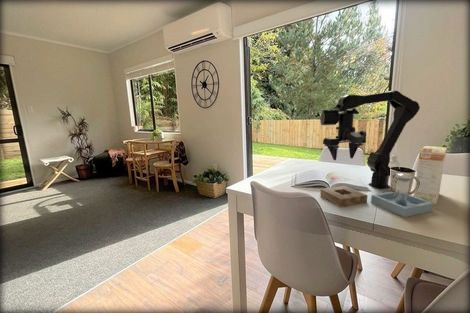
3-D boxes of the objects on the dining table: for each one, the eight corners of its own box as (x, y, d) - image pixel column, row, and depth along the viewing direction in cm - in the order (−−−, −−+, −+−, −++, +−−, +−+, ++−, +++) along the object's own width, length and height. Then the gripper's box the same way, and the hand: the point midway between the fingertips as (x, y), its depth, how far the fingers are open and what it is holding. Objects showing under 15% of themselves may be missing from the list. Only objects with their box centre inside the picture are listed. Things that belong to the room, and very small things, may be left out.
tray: (396, 197, 91) (397, 190, 90) (432, 211, 78) (433, 203, 78) (370, 202, 87) (371, 194, 86) (404, 217, 75) (405, 208, 74)
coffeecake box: (418, 189, 98) (424, 145, 94) (440, 193, 93) (447, 147, 89) (412, 200, 88) (418, 151, 84) (436, 205, 83) (444, 153, 79)
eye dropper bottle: (389, 176, 117) (392, 154, 114) (385, 173, 122) (387, 152, 120) (399, 177, 116) (402, 154, 113) (394, 174, 121) (397, 152, 118)
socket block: (343, 191, 98) (344, 185, 98) (366, 202, 87) (367, 195, 86) (320, 195, 95) (320, 188, 94) (341, 207, 84) (341, 199, 83)
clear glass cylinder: (398, 200, 85) (402, 172, 83) (412, 205, 81) (416, 175, 79) (389, 202, 84) (392, 173, 82) (402, 207, 80) (406, 177, 77)
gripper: (341, 127, 89) (338, 165, 92) (378, 124, 94) (374, 161, 97) (322, 125, 100) (321, 159, 103) (357, 123, 105) (354, 156, 108)
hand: (343, 159), depth 102 cm, fingers open, 9 cm apart
